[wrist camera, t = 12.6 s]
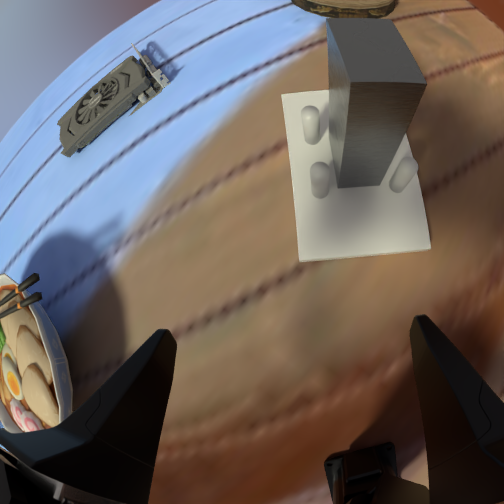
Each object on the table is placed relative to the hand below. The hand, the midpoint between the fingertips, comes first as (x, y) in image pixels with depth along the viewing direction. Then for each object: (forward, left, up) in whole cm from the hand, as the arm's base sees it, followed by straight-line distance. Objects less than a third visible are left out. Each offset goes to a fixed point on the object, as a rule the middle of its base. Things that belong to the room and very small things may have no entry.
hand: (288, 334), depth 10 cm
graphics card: (+32, +17, -14) cm, 39 cm away
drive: (+11, -8, -12) cm, 18 cm away
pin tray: (+11, -8, -14) cm, 19 cm away
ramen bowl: (0, +33, -14) cm, 36 cm away
